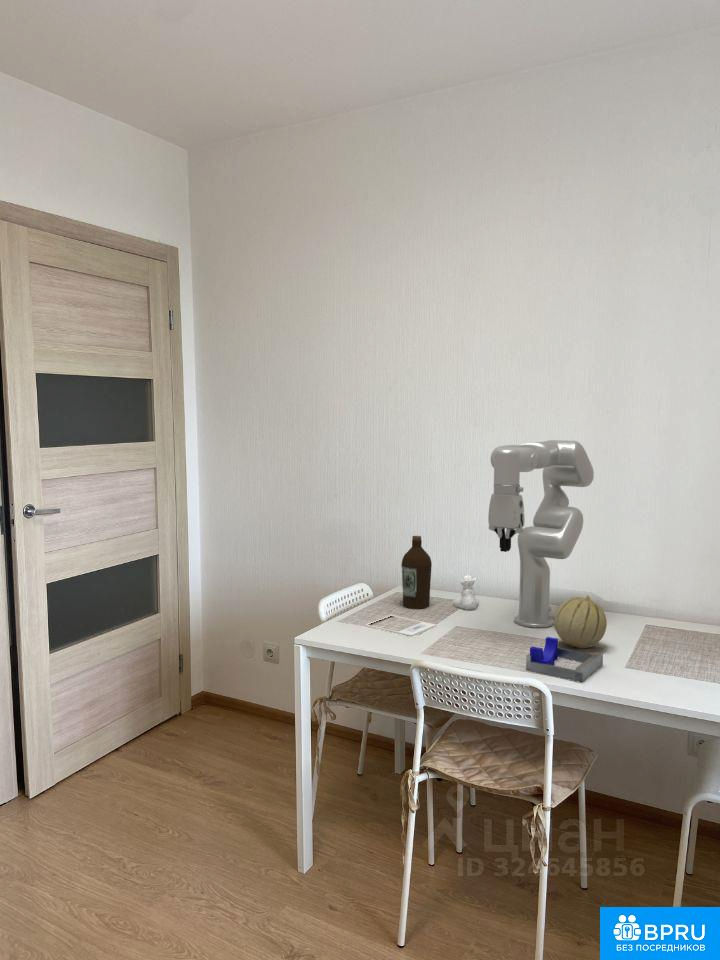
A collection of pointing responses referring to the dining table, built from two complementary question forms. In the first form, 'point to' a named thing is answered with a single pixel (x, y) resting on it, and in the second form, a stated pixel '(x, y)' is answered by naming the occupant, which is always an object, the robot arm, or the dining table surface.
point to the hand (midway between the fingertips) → (505, 550)
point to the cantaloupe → (580, 622)
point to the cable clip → (546, 652)
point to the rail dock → (579, 674)
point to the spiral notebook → (411, 630)
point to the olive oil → (416, 576)
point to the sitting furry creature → (467, 594)
